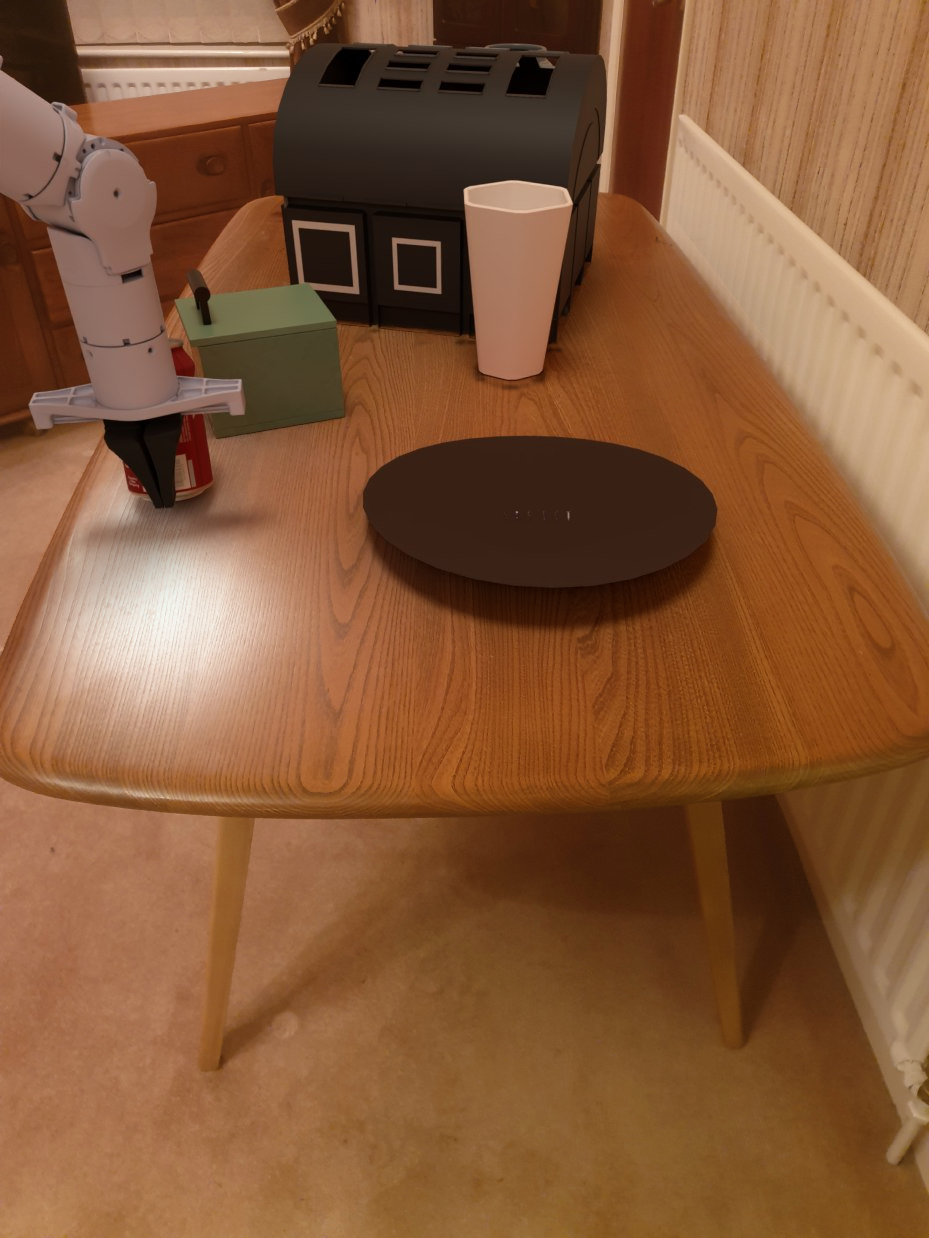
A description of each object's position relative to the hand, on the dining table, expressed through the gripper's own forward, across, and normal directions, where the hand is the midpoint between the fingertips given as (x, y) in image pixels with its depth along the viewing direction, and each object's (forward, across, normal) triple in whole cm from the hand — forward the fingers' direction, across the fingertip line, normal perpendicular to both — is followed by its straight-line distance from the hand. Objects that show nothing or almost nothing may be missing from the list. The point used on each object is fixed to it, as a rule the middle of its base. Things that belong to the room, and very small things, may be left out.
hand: (165, 501), depth 68 cm
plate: (+3, -29, +3) cm, 29 cm away
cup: (+3, -33, -26) cm, 42 cm away
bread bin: (+2, -8, -21) cm, 23 cm away
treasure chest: (+3, -31, -51) cm, 60 cm away
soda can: (+2, 0, -4) cm, 4 cm away
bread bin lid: (-6, -7, -21) cm, 23 cm away
